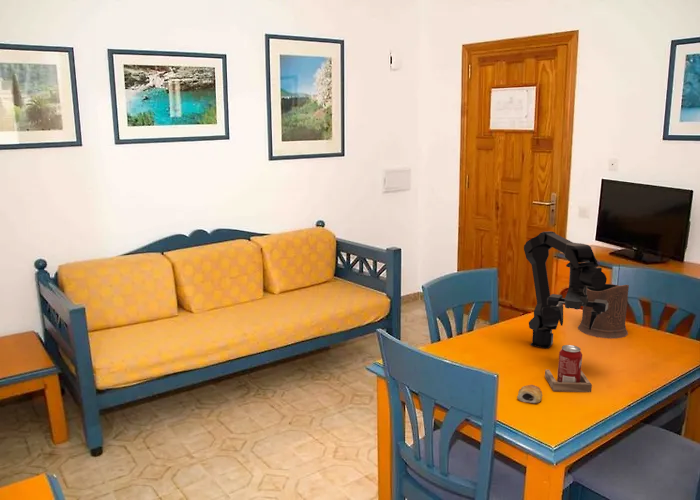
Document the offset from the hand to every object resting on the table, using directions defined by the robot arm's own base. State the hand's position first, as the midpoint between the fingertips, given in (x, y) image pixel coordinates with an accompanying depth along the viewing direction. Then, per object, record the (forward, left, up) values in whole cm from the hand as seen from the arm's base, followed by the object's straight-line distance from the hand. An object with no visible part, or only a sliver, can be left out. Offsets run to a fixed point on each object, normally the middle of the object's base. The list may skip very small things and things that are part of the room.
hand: (575, 327), depth 206 cm
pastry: (-5, -33, -14) cm, 36 cm away
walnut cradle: (+2, -18, -13) cm, 22 cm away
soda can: (+2, -17, -13) cm, 22 cm away
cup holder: (0, +42, -13) cm, 45 cm away
